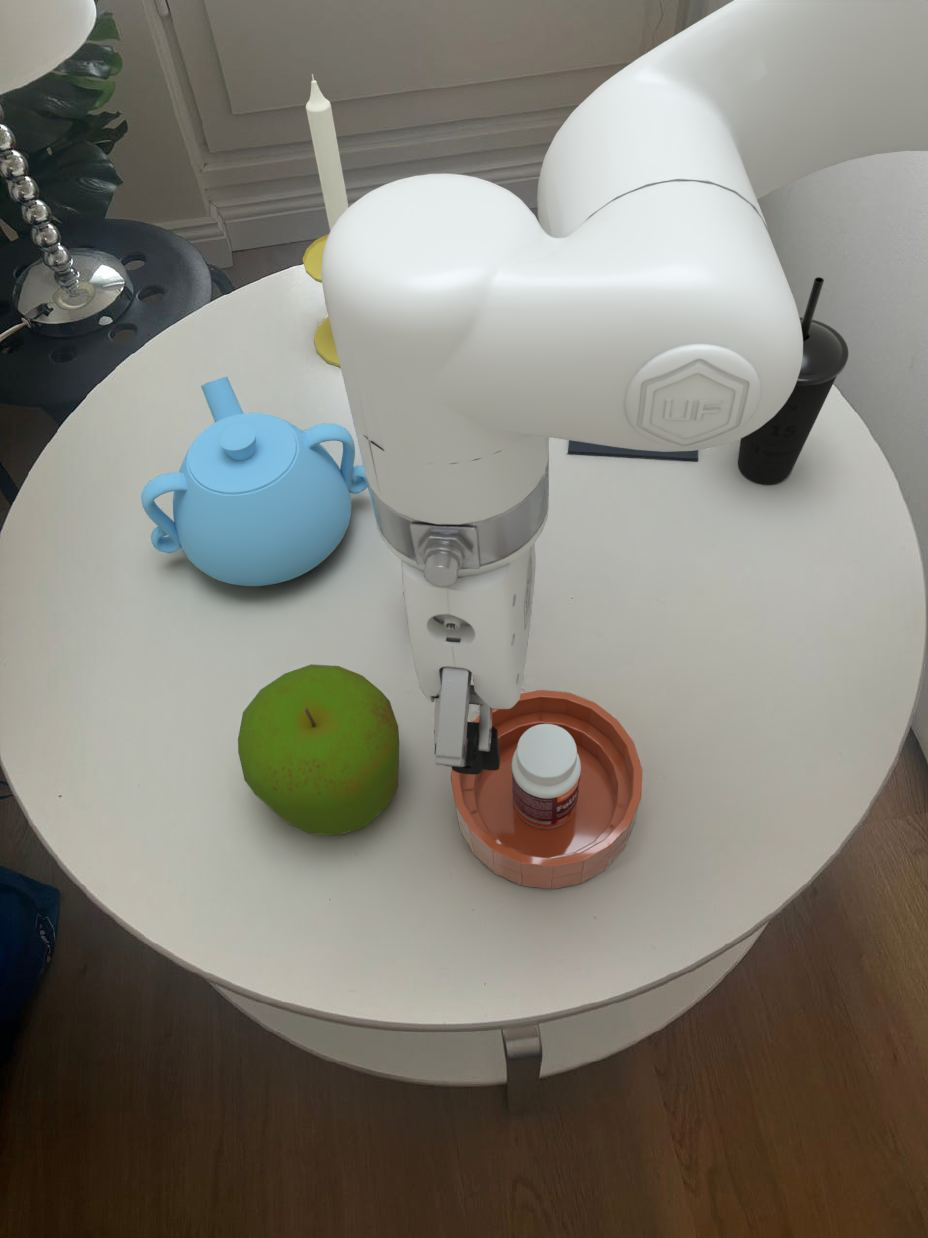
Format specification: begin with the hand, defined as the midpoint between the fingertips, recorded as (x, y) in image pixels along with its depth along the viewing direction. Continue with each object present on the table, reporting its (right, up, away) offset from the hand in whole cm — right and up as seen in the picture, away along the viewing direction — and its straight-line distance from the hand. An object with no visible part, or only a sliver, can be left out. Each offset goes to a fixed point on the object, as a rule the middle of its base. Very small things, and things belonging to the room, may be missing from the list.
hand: (481, 685), depth 54 cm
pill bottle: (+5, -10, +16) cm, 19 cm away
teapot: (-19, +13, +33) cm, 41 cm away
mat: (+16, +24, +38) cm, 47 cm away
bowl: (+5, -10, +16) cm, 19 cm away
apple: (-11, -8, +18) cm, 23 cm away
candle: (-12, +34, +46) cm, 58 cm away
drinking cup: (+27, +18, +33) cm, 46 cm away
